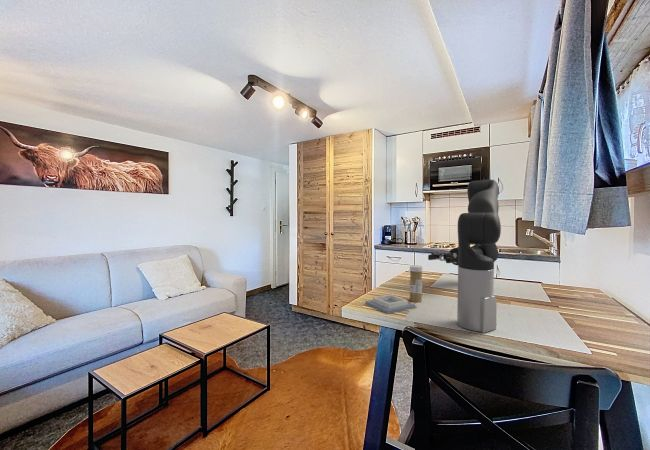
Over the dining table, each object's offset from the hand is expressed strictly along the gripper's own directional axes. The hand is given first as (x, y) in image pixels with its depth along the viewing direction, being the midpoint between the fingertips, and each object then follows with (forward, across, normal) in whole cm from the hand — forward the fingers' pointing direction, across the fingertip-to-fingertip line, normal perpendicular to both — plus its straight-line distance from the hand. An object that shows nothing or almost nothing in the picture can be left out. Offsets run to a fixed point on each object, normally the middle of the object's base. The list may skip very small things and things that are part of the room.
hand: (437, 258), depth 112 cm
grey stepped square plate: (+26, 0, +15) cm, 29 cm away
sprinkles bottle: (+12, 0, +15) cm, 20 cm away
